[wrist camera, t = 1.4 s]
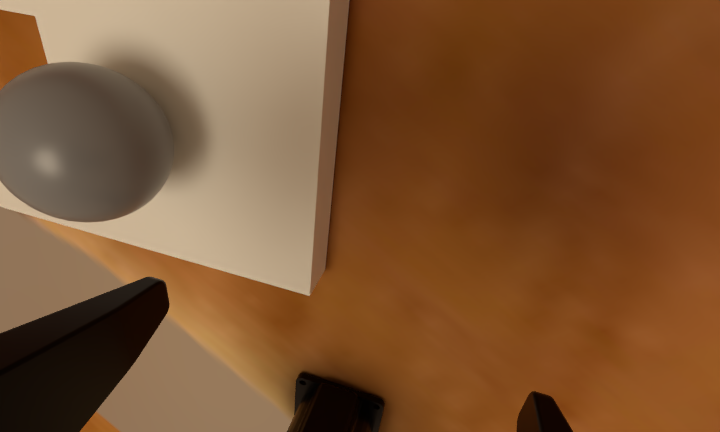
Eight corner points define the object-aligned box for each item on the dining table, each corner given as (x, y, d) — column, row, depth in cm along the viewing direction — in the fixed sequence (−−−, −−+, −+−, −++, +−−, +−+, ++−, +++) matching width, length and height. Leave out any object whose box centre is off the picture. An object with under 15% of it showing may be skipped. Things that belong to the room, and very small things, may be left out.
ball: (209, 196, 21) (110, 271, 16) (101, 168, 22) (-26, 229, 17) (197, 64, 18) (66, 100, 12) (71, 39, 19) (-101, 63, 13)
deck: (325, 269, 25) (309, 295, 22) (2, 180, 29) (-37, 196, 27) (353, -47, 16) (333, -51, 14) (-107, -107, 20) (-175, -117, 18)
